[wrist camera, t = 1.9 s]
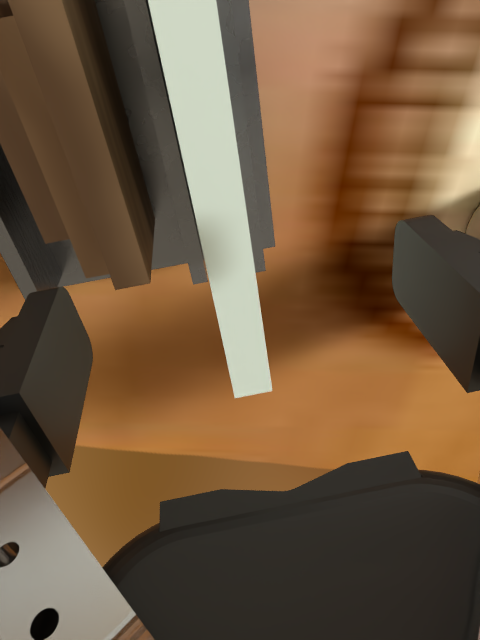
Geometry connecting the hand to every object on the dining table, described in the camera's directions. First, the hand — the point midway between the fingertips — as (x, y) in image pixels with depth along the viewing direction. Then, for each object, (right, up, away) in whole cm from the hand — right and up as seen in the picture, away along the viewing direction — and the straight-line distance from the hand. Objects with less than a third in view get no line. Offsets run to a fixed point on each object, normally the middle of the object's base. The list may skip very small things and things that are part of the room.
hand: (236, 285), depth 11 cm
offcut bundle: (-10, +11, +17) cm, 23 cm away
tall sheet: (-3, +13, +17) cm, 22 cm away
